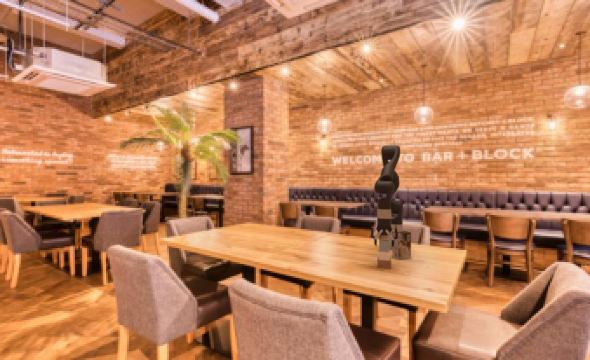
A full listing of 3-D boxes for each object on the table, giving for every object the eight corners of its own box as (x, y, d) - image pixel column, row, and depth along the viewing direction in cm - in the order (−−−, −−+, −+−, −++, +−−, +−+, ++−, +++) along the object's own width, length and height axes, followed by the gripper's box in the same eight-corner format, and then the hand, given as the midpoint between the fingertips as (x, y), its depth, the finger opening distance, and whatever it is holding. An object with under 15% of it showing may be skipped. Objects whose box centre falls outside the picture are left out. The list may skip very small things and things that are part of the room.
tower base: (377, 264, 168) (377, 256, 168) (390, 265, 166) (390, 257, 166) (377, 268, 161) (377, 260, 161) (390, 269, 159) (391, 261, 159)
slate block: (379, 249, 166) (379, 238, 166) (388, 250, 165) (388, 239, 165) (379, 251, 161) (379, 240, 161) (388, 252, 160) (389, 241, 160)
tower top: (378, 257, 167) (378, 249, 167) (389, 257, 166) (389, 249, 165) (378, 259, 161) (378, 251, 161) (390, 260, 160) (390, 252, 160)
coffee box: (404, 255, 185) (404, 230, 185) (411, 258, 179) (411, 232, 178) (391, 256, 182) (392, 231, 182) (398, 259, 176) (398, 233, 176)
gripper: (397, 216, 164) (397, 245, 165) (370, 215, 168) (370, 243, 168) (398, 218, 157) (398, 248, 158) (370, 217, 161) (370, 247, 161)
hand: (384, 246), depth 163 cm, fingers open, 8 cm apart
